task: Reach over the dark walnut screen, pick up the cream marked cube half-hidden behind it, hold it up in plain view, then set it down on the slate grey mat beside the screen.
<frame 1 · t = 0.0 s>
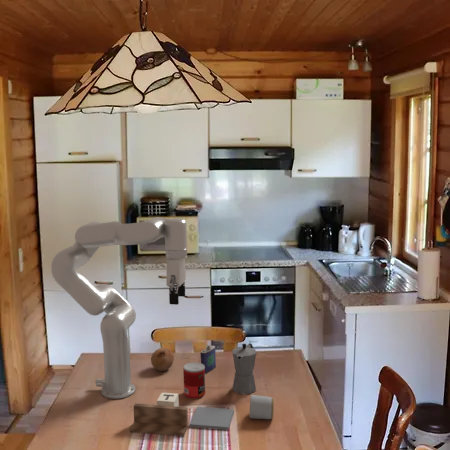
hand: (177, 300, 197), 37 cm above the table, tool pointing down, fingers open, 9 cm apart
marked cube: (168, 413, 190), on the table
canned food: (194, 394, 204), on the table
onion: (162, 369, 226), on the table
ceramic mug: (260, 416, 188), on the table
slate mat: (212, 419, 185), on the table
flask: (208, 370, 225), on the table
walnut screen: (161, 426, 181), on the table
coffeepot: (245, 388, 208), on the table
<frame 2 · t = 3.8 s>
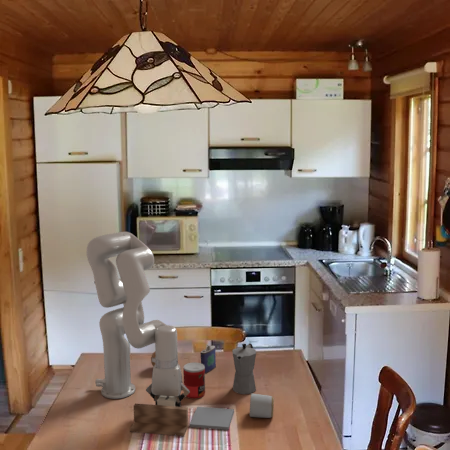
hand: (168, 410, 190), 1 cm above the table, tool pointing down, fingers closed on marked cube, 6 cm apart
marked cube: (168, 413, 190), on the table, touching gripper
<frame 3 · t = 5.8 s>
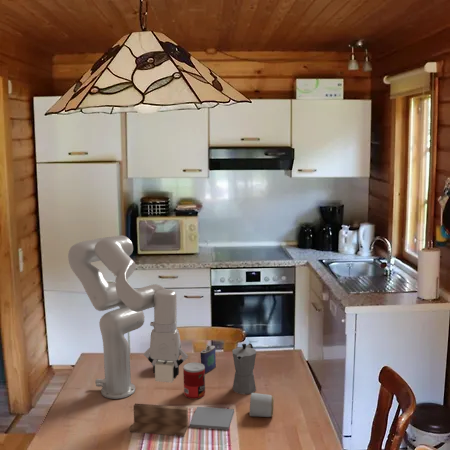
hand: (166, 375, 188), 14 cm above the table, tool pointing down, fingers closed on marked cube, 6 cm apart
marked cube: (166, 378, 188), point 13 cm above the table, touching gripper
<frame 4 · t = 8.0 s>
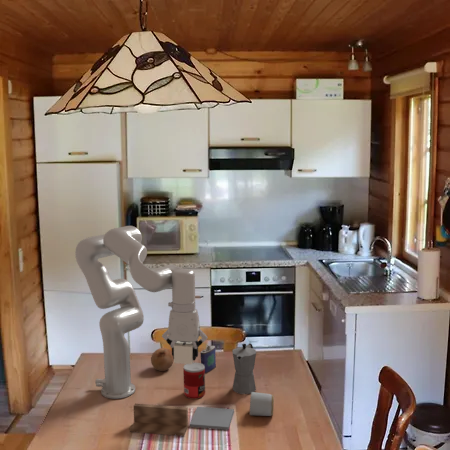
hand: (185, 357, 183), 21 cm above the table, tool pointing down, fingers closed on marked cube, 6 cm apart
marked cube: (185, 360, 184), point 21 cm above the table, touching gripper
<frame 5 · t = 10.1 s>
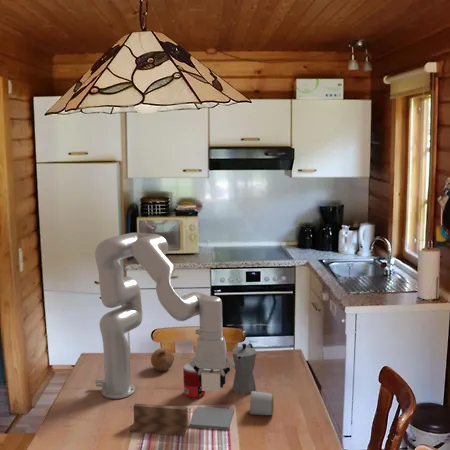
hand: (212, 384, 183), 12 cm above the table, tool pointing down, fingers closed on marked cube, 6 cm apart
marked cube: (212, 387, 183), point 12 cm above the table, touching gripper
when the fingers open (3 cm above the table, at t = 12.1 s): marked cube drops 1 cm, resting on slate mat.
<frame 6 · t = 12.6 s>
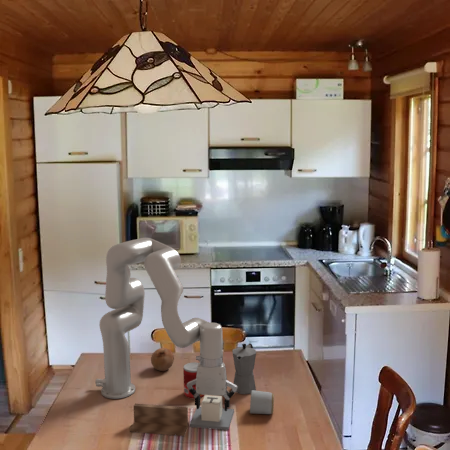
hand: (212, 408, 185), 4 cm above the table, tool pointing down, fingers open, 9 cm apart
marked cube: (212, 416, 185), point 1 cm above the table, touching slate mat
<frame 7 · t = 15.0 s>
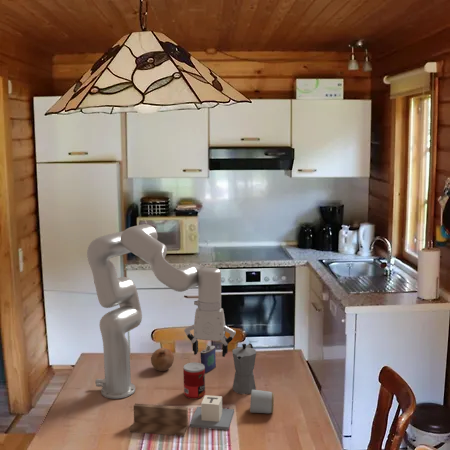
hand: (210, 354, 183), 23 cm above the table, tool pointing down, fingers open, 9 cm apart
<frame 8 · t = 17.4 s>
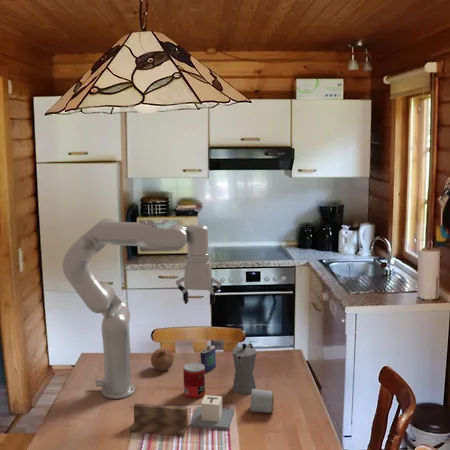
hand: (199, 303, 204), 33 cm above the table, tool pointing down, fingers open, 9 cm apart
at the end: marked cube inside the target area on the slate mat (0.1 cm from its centre), point 1.0 cm above the slate mat's base; marked cube tilted 0°; the gripper is holding nothing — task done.
